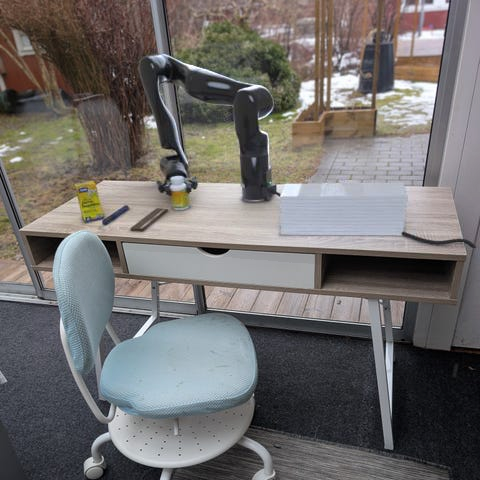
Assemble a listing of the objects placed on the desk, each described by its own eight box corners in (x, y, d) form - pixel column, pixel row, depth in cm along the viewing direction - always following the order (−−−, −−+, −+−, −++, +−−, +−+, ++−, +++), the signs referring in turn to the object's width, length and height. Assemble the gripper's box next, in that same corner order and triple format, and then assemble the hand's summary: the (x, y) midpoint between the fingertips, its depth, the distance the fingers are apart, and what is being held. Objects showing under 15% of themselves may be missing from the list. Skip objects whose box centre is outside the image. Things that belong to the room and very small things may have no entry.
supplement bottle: (186, 210, 151) (182, 180, 146) (170, 210, 152) (165, 180, 147) (191, 204, 156) (187, 175, 150) (175, 204, 157) (171, 175, 151)
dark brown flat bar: (156, 210, 153) (156, 207, 153) (168, 210, 152) (167, 208, 152) (130, 230, 140) (130, 228, 140) (142, 231, 139) (142, 228, 138)
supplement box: (85, 223, 148) (76, 188, 142) (82, 217, 153) (73, 183, 147) (104, 218, 150) (96, 184, 144) (100, 213, 155) (92, 180, 149)
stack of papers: (398, 220, 133) (403, 182, 127) (402, 235, 124) (408, 195, 118) (284, 220, 138) (283, 183, 133) (280, 234, 130) (279, 196, 124)
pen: (125, 208, 157) (124, 203, 156) (130, 209, 156) (129, 204, 155) (101, 225, 145) (100, 220, 144) (106, 225, 145) (105, 220, 144)
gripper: (153, 168, 160) (154, 182, 146) (195, 163, 161) (200, 177, 147) (157, 190, 164) (158, 206, 150) (198, 185, 165) (203, 200, 151)
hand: (179, 191), depth 149 cm, fingers closed on supplement bottle, 5 cm apart
